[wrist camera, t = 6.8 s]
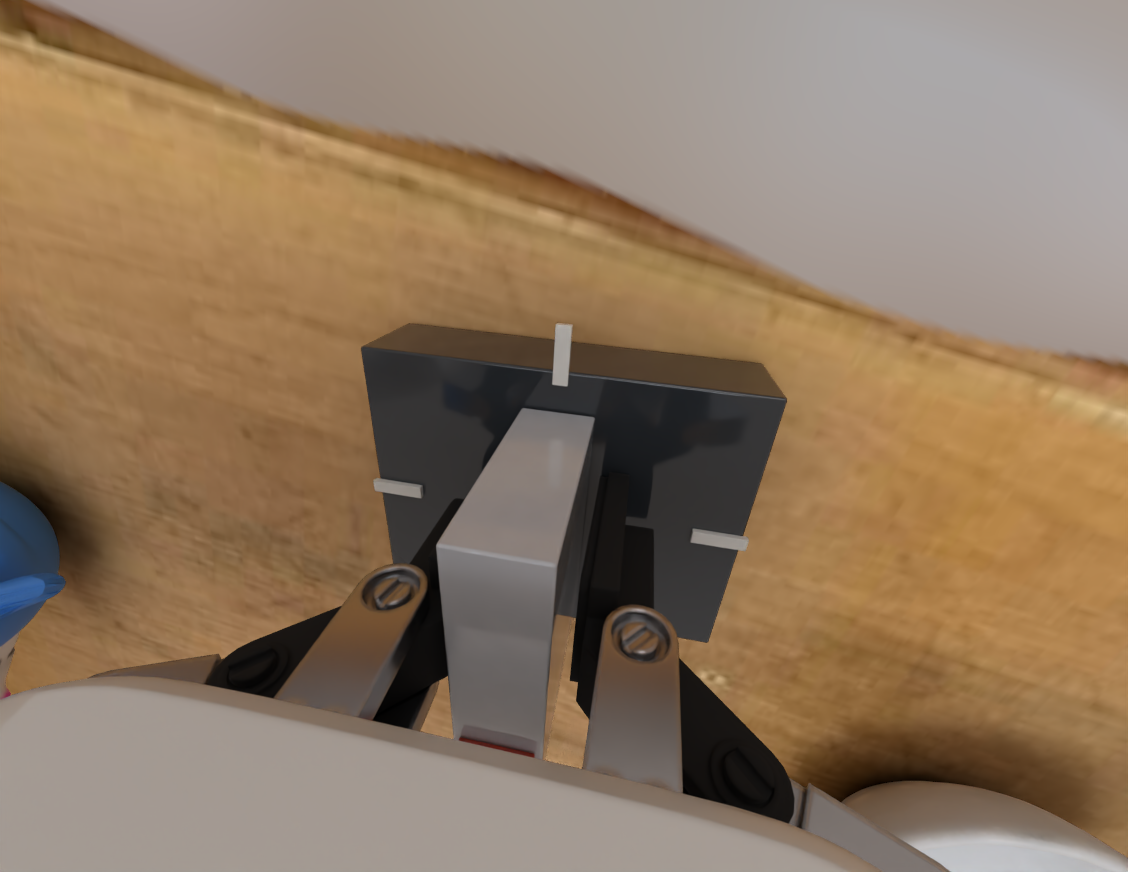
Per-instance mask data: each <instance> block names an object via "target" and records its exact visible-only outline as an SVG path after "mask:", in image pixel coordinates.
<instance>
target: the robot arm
mask: <svg viewBox="0 0 1128 872" xmlns="http://www.w3.org/2000/svg"><path fill="white" fill-rule="evenodd" d="M629 478H630V475H627V474H620V473H613V472H609V476H608V477H603V476H600V481H599V486H598V491H597V496H596V501H595V506H594V512H593V517H592V522H591V527H590V532H589V537H588V542H587V548H586V553H585V558H584V563H583V568H582V573H581V579H580V586H579V594H578V604H577V614H576V624H575V634H574V644H573V654H572V664H571V674H570V681H574V682H578V688H577V697H576V702H577V703H578V704H579V706H580V707H581V709H582V710H583V711H584V713H585V714H586V716H587V717H588V718H589V726H588V733H587V740H586V746H585V753H584V760H583V767H582V769H579V768H575V767H571V766H566V765H562V764H558V763H554V762H549V761H545V760H541V759H537V758H532V757H528V756H524V755H520V754H515V753H511V752H507V751H502V750H498V749H493V748H489V747H485V746H480V745H476V744H472V743H467V742H463V741H459V740H454V739H450V738H446V737H441V736H437V735H433V734H428V733H424V732H420V730H421V728H422V726H423V723H424V721H425V719H426V716H427V714H428V711H429V709H430V707H431V704H432V702H433V699H434V697H435V695H436V692H437V689H438V685H439V680H441V679H443V678H445V677H447V676H448V670H447V659H446V648H445V638H444V627H443V616H442V605H441V594H440V584H439V573H438V562H437V551H436V544H437V542H438V541H439V539H440V538H441V536H442V534H443V533H444V531H445V530H446V528H447V527H448V525H449V523H450V522H451V520H452V519H453V517H454V515H455V514H456V512H457V511H458V509H459V507H460V506H461V504H462V503H463V501H464V500H465V499H459V498H456V499H454V500H453V501H452V502H451V503H450V504H449V506H448V507H447V509H446V510H445V512H444V513H443V515H442V516H441V518H440V519H439V521H438V522H437V524H436V525H435V527H434V528H433V530H432V531H431V533H430V534H429V536H428V537H427V538H426V540H425V541H424V543H423V544H422V546H421V547H420V549H419V550H418V552H417V553H416V555H415V556H414V558H413V559H412V561H411V562H410V564H408V563H395V564H389V565H385V566H383V567H380V568H377V569H375V570H374V571H372V572H371V573H369V574H367V575H366V576H365V577H364V578H363V579H362V580H361V581H360V582H359V583H358V585H357V586H356V588H355V589H354V590H353V592H352V593H351V594H350V596H349V597H348V598H347V600H346V601H345V602H344V604H343V605H342V606H340V607H337V608H335V609H332V610H330V611H327V612H325V613H322V614H320V615H317V616H315V617H312V618H310V619H307V620H305V621H302V622H300V623H297V624H295V625H292V626H290V627H287V628H285V629H282V630H280V631H277V632H274V633H272V634H269V635H267V636H264V637H262V638H259V639H257V640H254V641H252V642H250V643H248V644H246V645H244V646H242V647H240V648H238V649H236V650H235V651H234V652H232V653H231V654H230V655H228V656H227V657H226V658H225V659H221V657H220V655H219V654H214V655H207V656H201V657H194V658H188V659H181V660H175V661H168V662H162V663H155V664H149V665H143V666H136V667H130V668H123V669H117V670H110V671H107V672H103V673H100V674H96V675H93V676H91V677H89V678H87V679H81V680H75V681H69V682H63V683H56V684H51V685H47V686H43V687H39V688H34V689H31V690H27V691H24V692H20V693H17V694H14V695H11V696H8V697H6V698H3V699H1V700H0V872H950V871H949V870H948V869H946V868H945V867H944V866H943V865H941V864H940V863H939V862H937V861H935V860H934V859H932V858H930V857H929V856H927V855H926V854H924V853H922V852H921V851H919V850H917V849H916V848H914V847H913V846H911V845H909V844H908V843H906V842H904V841H903V840H901V839H900V838H898V837H896V836H895V835H893V834H891V833H890V832H888V831H887V830H885V829H883V828H882V827H880V826H878V825H877V824H875V823H874V822H872V821H870V820H869V819H867V818H865V817H864V816H862V815H861V814H859V813H857V812H856V811H854V810H852V809H851V808H849V807H848V806H846V805H844V804H843V803H841V802H839V801H838V800H836V799H835V798H833V797H831V796H830V795H828V794H826V793H825V792H823V791H822V790H820V789H818V788H817V787H815V786H813V785H812V784H810V783H809V784H808V785H807V787H806V788H805V787H803V786H802V785H800V784H799V783H797V782H795V781H794V780H792V779H791V778H789V777H788V775H787V773H786V771H785V769H784V767H783V766H782V764H781V763H780V762H779V761H778V759H777V758H776V757H775V756H774V754H773V753H772V752H771V751H770V750H769V749H768V748H767V747H766V746H765V745H764V744H763V743H762V742H761V741H760V740H759V739H758V738H757V737H756V736H755V735H754V734H753V733H752V732H751V731H750V730H749V729H748V728H747V726H746V725H745V724H744V723H743V722H742V721H741V720H740V719H739V718H738V717H737V716H736V715H735V714H734V713H733V712H732V711H731V710H730V709H729V708H728V707H727V706H726V705H725V704H724V703H723V702H722V701H721V700H720V699H719V698H718V697H717V696H716V695H715V694H714V693H713V692H712V691H711V690H710V689H709V688H708V687H707V686H706V685H705V684H704V683H703V682H702V681H701V680H700V679H699V678H698V677H697V676H696V675H695V674H694V673H693V672H692V671H691V670H690V669H689V668H688V667H687V666H686V665H685V664H684V663H683V661H682V660H681V659H680V658H679V643H678V638H677V633H676V631H675V629H674V627H673V626H672V624H671V622H670V621H669V620H668V619H667V618H666V617H665V616H663V615H662V614H661V613H659V612H657V611H656V610H654V530H653V529H651V528H644V527H638V526H631V525H625V523H626V512H627V501H628V489H629ZM469 492H470V491H469Z"/></svg>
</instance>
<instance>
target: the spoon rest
mask: <svg viewBox="0 0 1128 872" xmlns="http://www.w3.org/2000/svg"><path fill="white" fill-rule="evenodd" d="M841 803H843V804H844V805H846V806H848V807H849V808H851V809H852V810H854V811H856V812H857V813H859V814H861V815H862V816H864V817H865V818H867V819H869V820H870V821H872V822H874V823H875V824H877V825H878V826H880V827H882V828H883V829H885V830H887V831H888V832H890V833H891V834H893V835H895V836H896V837H898V838H900V839H901V840H903V841H904V842H906V843H908V844H909V845H911V846H913V847H914V848H916V849H917V850H919V851H921V852H922V853H924V854H926V855H927V856H929V857H930V858H932V859H934V860H935V861H937V862H939V863H940V864H941V865H943V866H944V867H945V868H946V869H948V870H949V871H950V872H1128V858H1127V857H1126V856H1124V855H1122V854H1121V853H1119V852H1118V851H1116V850H1114V849H1113V848H1111V847H1110V846H1108V845H1106V844H1105V843H1103V842H1102V841H1100V840H1098V839H1097V838H1095V837H1094V836H1092V835H1090V834H1089V833H1087V832H1086V831H1084V830H1082V829H1080V828H1078V827H1076V826H1075V825H1073V824H1071V823H1069V822H1067V821H1065V820H1064V819H1062V818H1060V817H1058V816H1056V815H1054V814H1052V813H1050V812H1048V811H1046V810H1043V809H1041V808H1039V807H1037V806H1034V805H1032V804H1030V803H1028V802H1025V801H1023V800H1020V799H1017V798H1014V797H1011V796H1008V795H1005V794H1001V793H998V792H994V791H990V790H987V789H983V788H977V787H972V786H966V785H960V784H952V783H941V782H930V781H898V782H890V783H884V784H879V785H875V786H871V787H868V788H865V789H862V790H860V791H858V792H856V793H854V794H852V795H850V796H849V797H847V798H845V799H844V800H843V801H842V802H841Z"/></svg>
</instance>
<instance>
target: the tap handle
mask: <svg viewBox="0 0 1128 872" xmlns="http://www.w3.org/2000/svg"><path fill="white" fill-rule="evenodd" d="M594 425H595V418H594V417H588V416H581V415H573V414H565V413H558V412H550V411H542V410H535V409H527V408H522V409H521V411H520V412H519V414H518V415H517V417H516V418H515V420H514V422H513V423H512V425H511V426H510V428H509V430H508V431H507V433H506V434H505V436H504V438H503V439H502V441H501V442H500V444H499V445H498V447H497V449H496V450H495V452H494V453H493V455H492V457H491V458H490V460H489V461H488V463H487V465H486V466H485V468H484V469H483V471H482V473H481V474H480V476H479V477H478V479H477V480H476V482H475V484H474V485H473V487H472V488H471V490H470V492H469V493H468V495H467V496H466V498H465V500H464V501H463V503H462V504H461V506H460V507H459V509H458V511H457V512H456V514H455V515H454V517H453V519H452V520H451V522H450V523H449V525H448V527H447V528H446V530H445V531H444V533H443V534H442V536H441V538H440V539H439V541H438V542H437V544H436V551H437V562H438V573H439V584H440V594H441V605H442V616H443V627H444V638H445V648H446V659H447V670H448V681H449V692H450V702H451V713H452V724H453V735H454V740H459V741H463V742H467V743H472V744H476V745H480V746H485V747H489V748H493V749H498V750H502V751H507V752H511V753H515V754H520V755H524V756H528V757H532V758H537V759H541V760H546V754H547V749H548V744H549V739H550V733H551V728H552V723H553V717H554V712H555V707H556V702H557V696H558V691H559V686H560V680H561V675H562V670H563V665H564V659H565V654H566V649H567V643H568V638H569V633H570V627H571V622H572V617H573V612H574V606H575V601H576V595H577V585H578V576H579V566H580V557H581V548H582V538H583V529H584V519H585V510H586V501H587V491H588V482H589V472H590V463H591V453H592V444H593V435H594Z"/></svg>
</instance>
